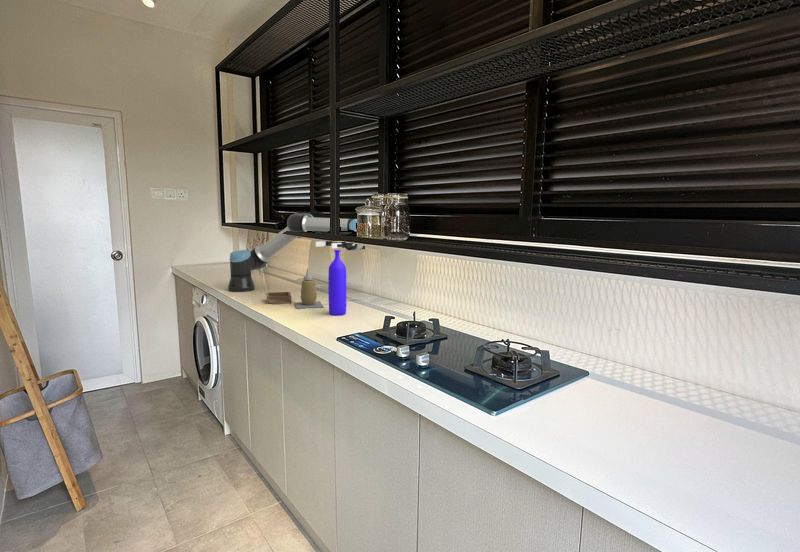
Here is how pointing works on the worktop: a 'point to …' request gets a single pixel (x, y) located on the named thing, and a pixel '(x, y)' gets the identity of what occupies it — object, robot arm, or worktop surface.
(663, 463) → the worktop surface
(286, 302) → the holder
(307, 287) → the squeeze bottle
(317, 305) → the mat
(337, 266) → the bottle
